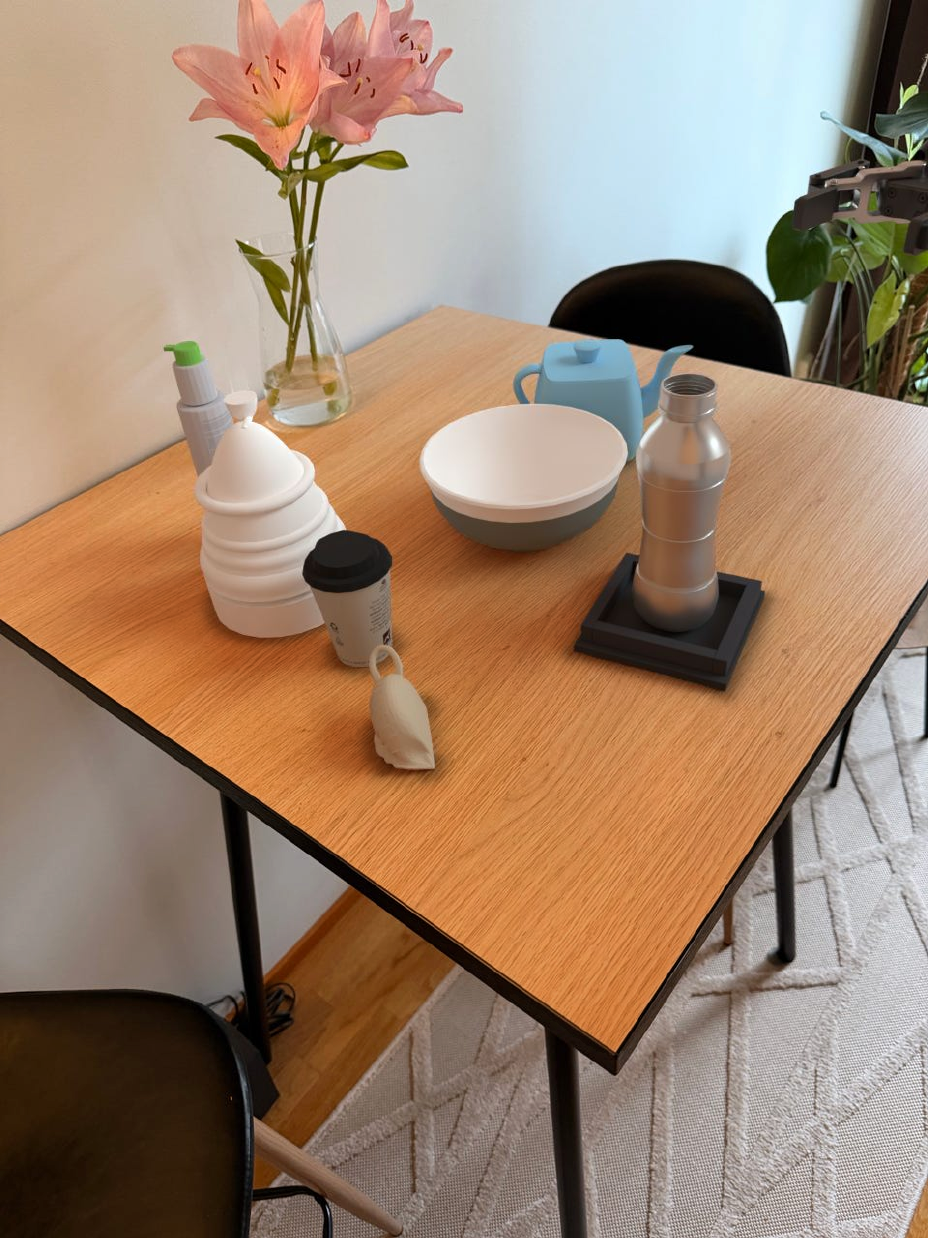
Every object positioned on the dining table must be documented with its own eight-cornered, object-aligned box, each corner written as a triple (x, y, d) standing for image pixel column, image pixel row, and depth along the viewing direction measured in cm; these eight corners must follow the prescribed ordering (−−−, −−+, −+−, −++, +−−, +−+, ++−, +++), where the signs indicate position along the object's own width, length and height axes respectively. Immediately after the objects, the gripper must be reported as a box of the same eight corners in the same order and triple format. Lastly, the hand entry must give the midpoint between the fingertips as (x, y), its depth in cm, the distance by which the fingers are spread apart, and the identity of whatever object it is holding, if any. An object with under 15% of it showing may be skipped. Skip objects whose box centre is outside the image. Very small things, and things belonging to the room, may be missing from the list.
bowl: (656, 561, 80) (660, 480, 75) (450, 603, 78) (440, 523, 73) (588, 462, 95) (588, 389, 90) (413, 495, 93) (403, 422, 87)
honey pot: (224, 558, 87) (169, 382, 75) (358, 543, 87) (323, 364, 75) (204, 645, 77) (137, 457, 65) (355, 628, 77) (315, 437, 65)
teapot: (693, 470, 92) (702, 362, 84) (515, 478, 94) (509, 373, 86) (679, 414, 101) (686, 313, 94) (517, 422, 103) (512, 323, 96)
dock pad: (764, 598, 75) (767, 576, 74) (725, 691, 67) (728, 668, 66) (625, 568, 80) (626, 546, 79) (573, 651, 72) (573, 629, 71)
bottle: (241, 525, 91) (185, 332, 79) (274, 536, 89) (221, 339, 77) (210, 548, 88) (147, 351, 76) (243, 559, 86) (184, 359, 74)
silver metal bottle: (698, 652, 70) (722, 413, 57) (617, 627, 73) (622, 396, 60) (727, 605, 74) (755, 372, 61) (649, 583, 77) (660, 358, 64)
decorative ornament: (377, 780, 64) (365, 726, 60) (373, 697, 70) (362, 645, 67) (434, 771, 64) (426, 718, 60) (425, 690, 70) (417, 638, 67)
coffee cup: (421, 655, 73) (405, 554, 67) (343, 689, 71) (319, 588, 65) (384, 611, 78) (366, 513, 72) (310, 642, 76) (284, 543, 70)
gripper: (907, 105, 70) (770, 151, 63) (1104, 125, 60) (969, 182, 54) (887, 208, 74) (758, 262, 68) (1067, 241, 65) (939, 307, 58)
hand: (851, 226), depth 61 cm, fingers open, 8 cm apart
